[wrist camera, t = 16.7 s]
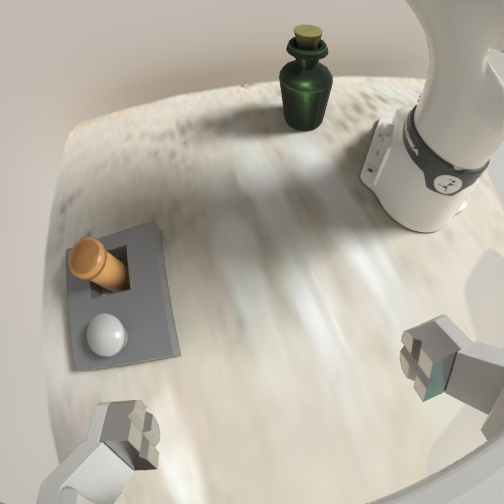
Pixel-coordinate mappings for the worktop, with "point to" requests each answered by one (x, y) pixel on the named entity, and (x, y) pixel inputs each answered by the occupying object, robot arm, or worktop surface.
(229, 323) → the worktop surface
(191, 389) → the worktop surface
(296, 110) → the potion bottle
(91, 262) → the mushroom head peg
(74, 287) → the gray peg hole board
